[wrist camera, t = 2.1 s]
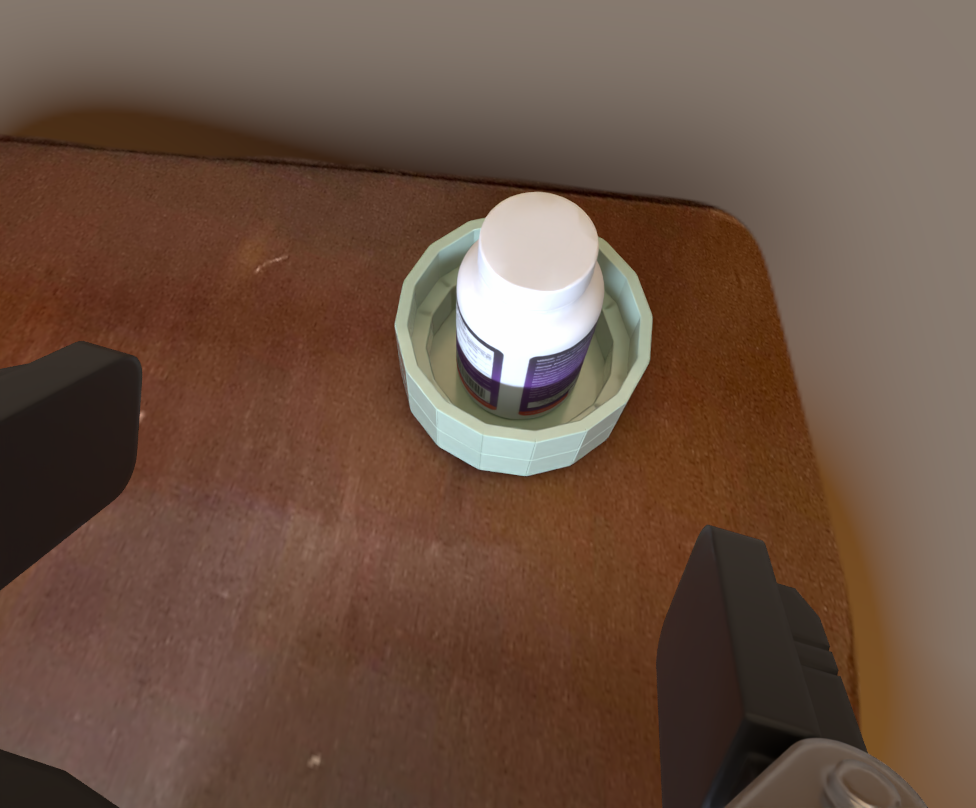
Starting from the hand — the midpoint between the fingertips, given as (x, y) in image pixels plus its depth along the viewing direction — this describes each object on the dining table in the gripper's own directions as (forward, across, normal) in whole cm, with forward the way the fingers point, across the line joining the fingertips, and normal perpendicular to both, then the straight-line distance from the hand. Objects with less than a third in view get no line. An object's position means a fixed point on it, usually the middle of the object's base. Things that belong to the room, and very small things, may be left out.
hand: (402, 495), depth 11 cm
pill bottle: (+24, 0, +6) cm, 25 cm away
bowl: (+24, 0, +6) cm, 25 cm away
